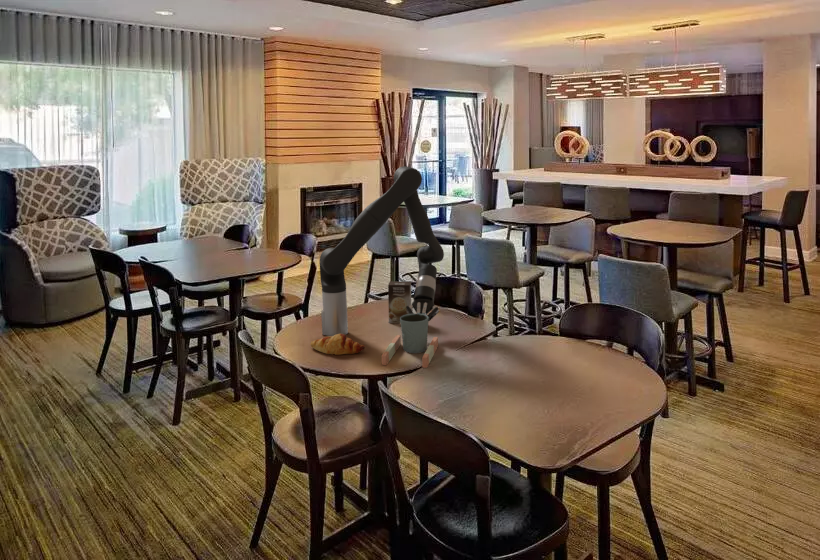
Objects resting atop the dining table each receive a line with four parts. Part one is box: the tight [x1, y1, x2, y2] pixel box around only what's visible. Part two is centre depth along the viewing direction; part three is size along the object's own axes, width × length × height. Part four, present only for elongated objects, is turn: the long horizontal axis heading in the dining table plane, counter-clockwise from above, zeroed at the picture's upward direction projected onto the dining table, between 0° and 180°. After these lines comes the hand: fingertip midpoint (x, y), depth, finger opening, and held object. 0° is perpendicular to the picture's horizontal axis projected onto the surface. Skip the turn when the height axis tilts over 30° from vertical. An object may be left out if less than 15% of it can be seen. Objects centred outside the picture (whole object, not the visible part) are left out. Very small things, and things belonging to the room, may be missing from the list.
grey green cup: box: [399, 313, 429, 354], centre depth 240 cm, size 10×10×12 cm
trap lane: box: [381, 334, 439, 369], centre depth 235 cm, size 15×22×4 cm
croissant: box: [310, 334, 365, 356], centre depth 241 cm, size 21×10×8 cm
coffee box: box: [387, 281, 412, 324], centre depth 274 cm, size 9×6×16 cm
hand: (419, 330), depth 249 cm, fingers closed
